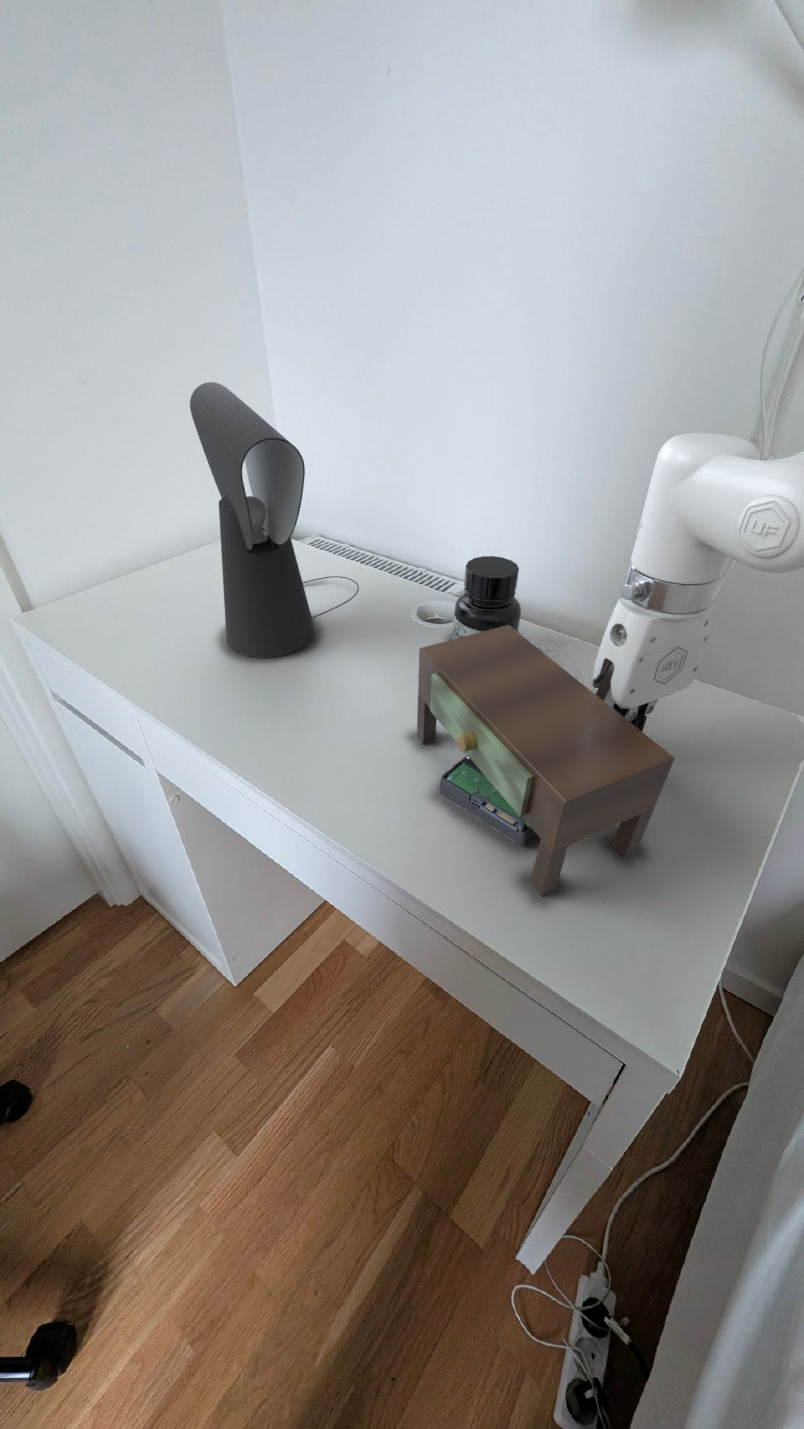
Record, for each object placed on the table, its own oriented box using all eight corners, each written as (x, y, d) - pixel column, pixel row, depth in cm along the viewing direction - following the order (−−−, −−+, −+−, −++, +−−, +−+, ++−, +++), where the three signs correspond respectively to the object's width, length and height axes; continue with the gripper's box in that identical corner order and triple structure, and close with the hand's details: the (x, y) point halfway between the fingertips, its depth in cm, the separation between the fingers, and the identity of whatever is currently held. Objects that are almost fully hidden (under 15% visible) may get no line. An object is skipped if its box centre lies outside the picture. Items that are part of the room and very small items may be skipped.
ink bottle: (441, 634, 84) (445, 556, 77) (495, 624, 87) (505, 547, 79) (470, 670, 77) (477, 588, 70) (528, 658, 80) (541, 577, 72)
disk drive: (516, 728, 68) (437, 795, 59) (519, 709, 66) (438, 776, 58) (597, 768, 63) (524, 849, 54) (603, 749, 61) (528, 830, 52)
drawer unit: (636, 851, 54) (675, 757, 46) (523, 904, 50) (546, 810, 42) (496, 710, 70) (508, 624, 63) (402, 740, 66) (403, 652, 59)
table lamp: (124, 605, 91) (52, 389, 72) (265, 550, 108) (236, 364, 89) (292, 707, 71) (253, 445, 52) (433, 621, 87) (443, 398, 69)
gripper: (636, 622, 47) (591, 782, 58) (761, 585, 52) (697, 739, 64) (576, 585, 52) (545, 739, 64) (694, 555, 58) (646, 702, 69)
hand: (621, 738), depth 64 cm, fingers closed
